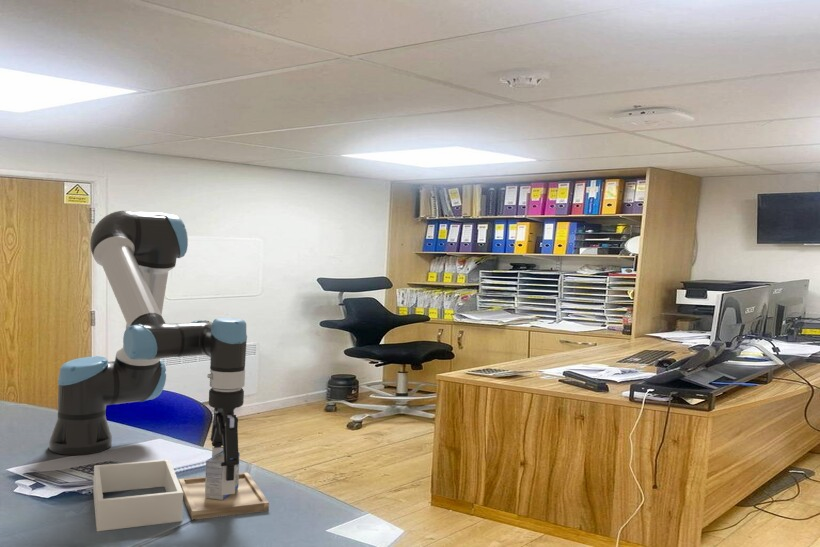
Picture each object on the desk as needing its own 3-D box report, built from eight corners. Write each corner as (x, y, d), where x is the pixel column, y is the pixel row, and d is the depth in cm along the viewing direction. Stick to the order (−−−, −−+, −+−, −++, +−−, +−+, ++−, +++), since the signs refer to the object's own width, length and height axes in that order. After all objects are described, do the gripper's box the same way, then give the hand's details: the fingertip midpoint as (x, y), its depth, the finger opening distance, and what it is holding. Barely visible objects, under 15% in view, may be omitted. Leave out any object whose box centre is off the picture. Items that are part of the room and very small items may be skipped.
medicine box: (222, 501, 154) (224, 462, 153) (203, 498, 155) (205, 459, 154) (238, 488, 161) (240, 451, 161) (220, 486, 162) (222, 449, 162)
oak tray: (178, 486, 163) (178, 478, 163) (247, 479, 170) (247, 472, 170) (192, 519, 145) (192, 511, 145) (268, 510, 152) (268, 502, 152)
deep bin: (93, 491, 157) (94, 465, 157) (168, 484, 164) (169, 459, 164) (96, 531, 138) (97, 501, 137) (182, 521, 145) (183, 492, 144)
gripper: (200, 377, 166) (196, 468, 167) (220, 401, 144) (215, 505, 145) (232, 376, 169) (228, 465, 170) (256, 399, 148) (251, 501, 149)
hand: (222, 484), depth 158 cm, fingers open, 11 cm apart
